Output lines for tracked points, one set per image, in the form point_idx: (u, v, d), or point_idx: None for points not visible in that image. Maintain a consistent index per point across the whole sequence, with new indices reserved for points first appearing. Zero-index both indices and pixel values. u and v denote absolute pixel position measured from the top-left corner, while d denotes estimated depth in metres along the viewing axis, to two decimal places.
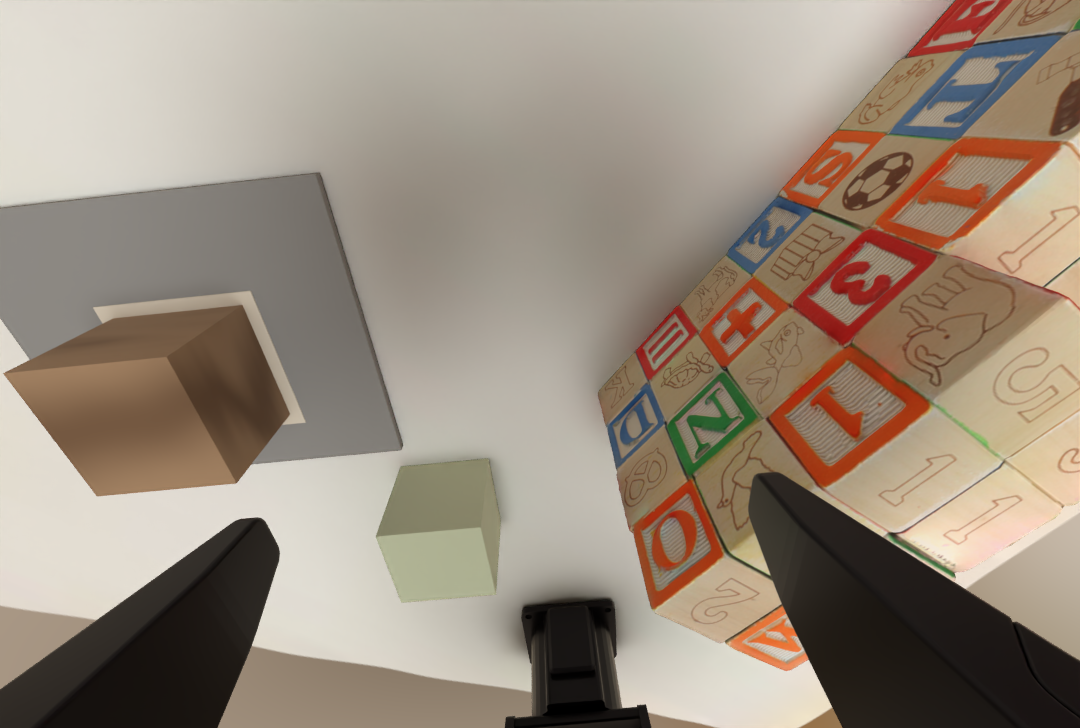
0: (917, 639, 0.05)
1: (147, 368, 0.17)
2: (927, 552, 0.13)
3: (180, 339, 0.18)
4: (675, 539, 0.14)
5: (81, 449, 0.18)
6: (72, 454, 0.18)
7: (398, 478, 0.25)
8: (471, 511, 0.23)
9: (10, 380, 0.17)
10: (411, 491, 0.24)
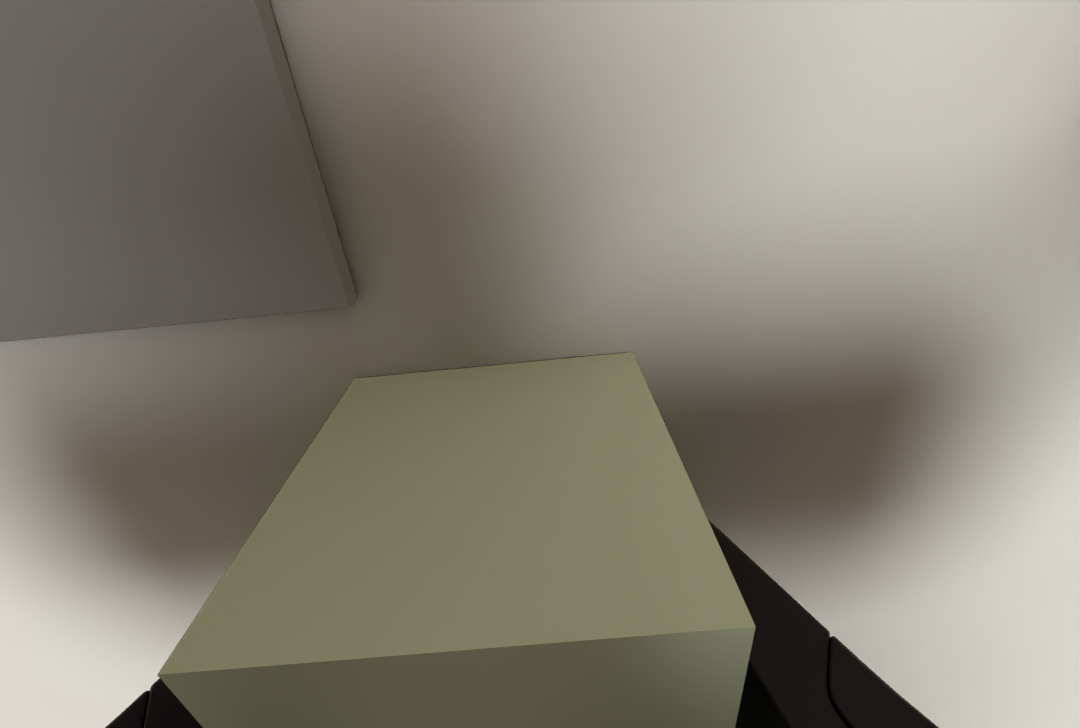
0: None
1: None
2: None
3: None
4: None
5: None
6: None
7: (339, 411, 0.07)
8: (657, 531, 0.05)
9: None
10: (379, 450, 0.06)
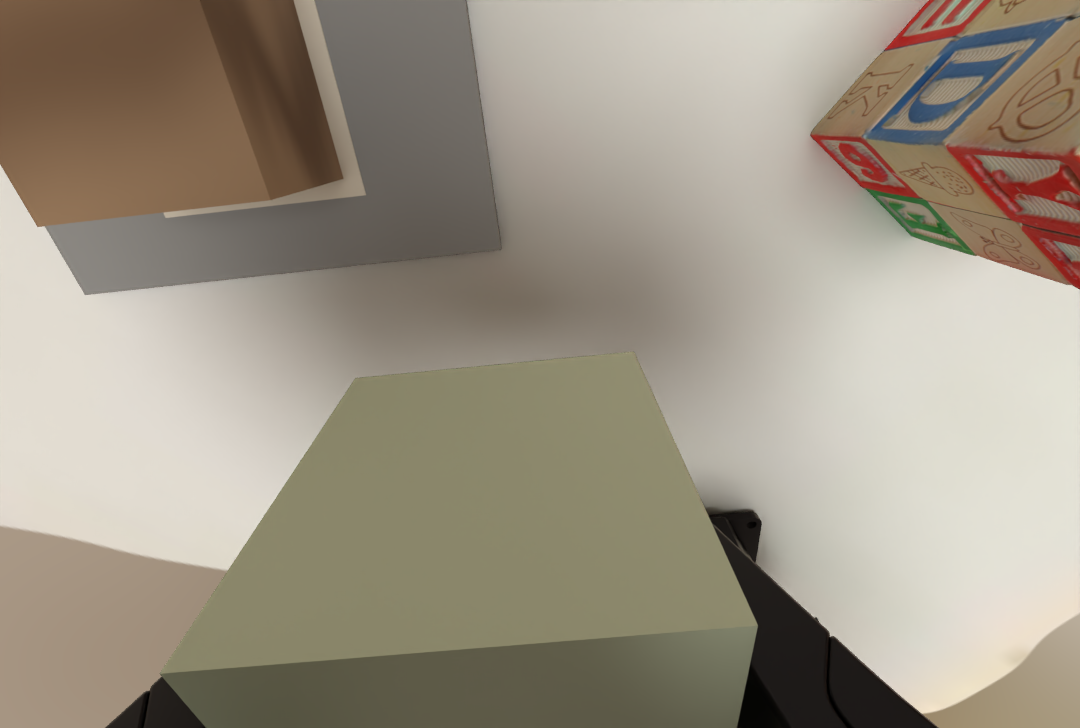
0: None
1: None
2: None
3: None
4: None
5: (4, 114, 0.10)
6: None
7: (340, 410, 0.07)
8: (658, 530, 0.05)
9: None
10: (380, 449, 0.06)
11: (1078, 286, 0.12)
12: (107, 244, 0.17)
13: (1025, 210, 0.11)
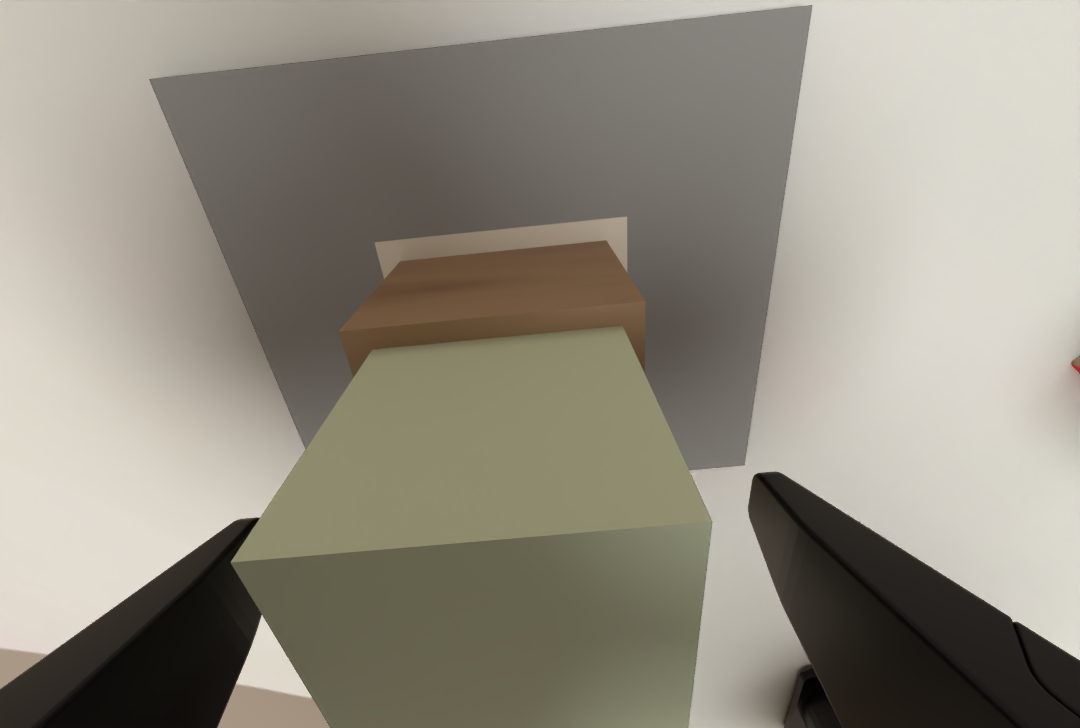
0: (918, 639, 0.05)
1: (601, 323, 0.09)
2: None
3: (608, 279, 0.10)
4: None
5: None
6: None
7: (360, 375, 0.08)
8: (637, 459, 0.06)
9: (345, 345, 0.09)
10: (399, 405, 0.07)
11: None
12: None
13: None
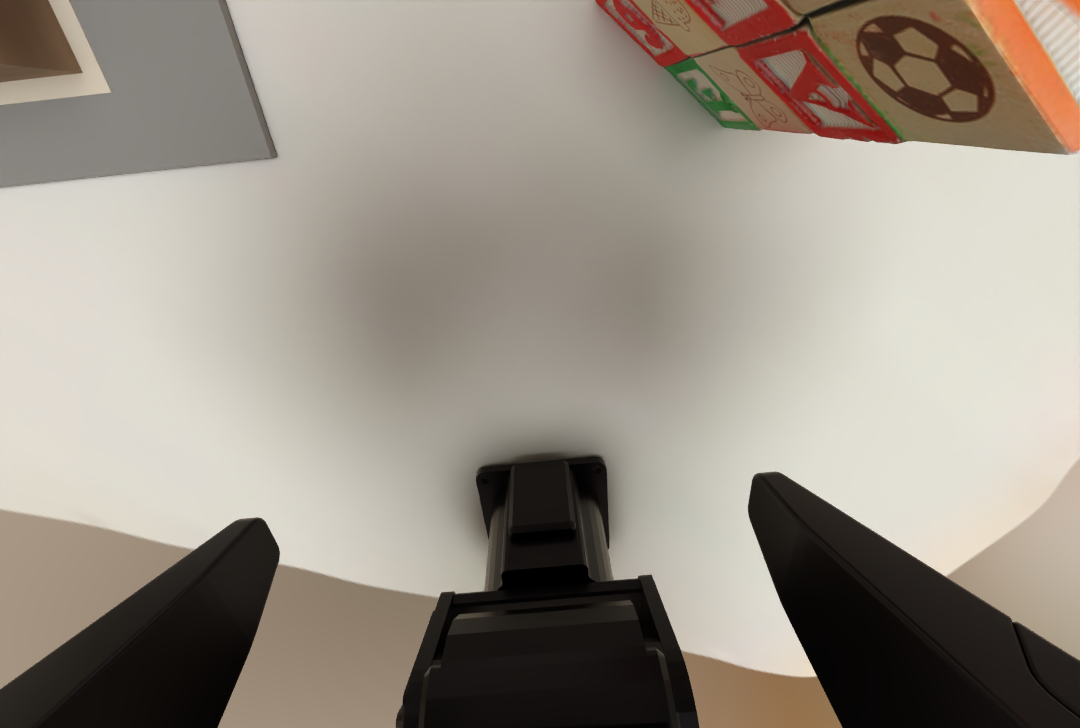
0: (917, 639, 0.05)
1: None
2: None
3: None
4: None
5: None
6: None
7: None
8: None
9: None
10: None
11: (814, 130, 0.11)
12: None
13: (726, 23, 0.10)
